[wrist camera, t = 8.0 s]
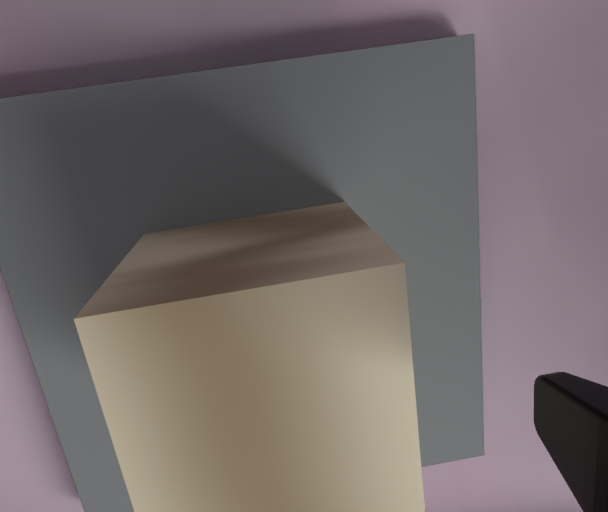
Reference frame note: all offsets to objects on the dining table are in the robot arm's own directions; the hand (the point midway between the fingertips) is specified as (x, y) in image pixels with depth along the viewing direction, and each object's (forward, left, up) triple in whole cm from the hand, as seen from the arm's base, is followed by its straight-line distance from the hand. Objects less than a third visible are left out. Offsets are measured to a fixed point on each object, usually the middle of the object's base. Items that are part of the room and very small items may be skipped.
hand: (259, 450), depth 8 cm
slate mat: (0, 0, -6) cm, 6 cm away
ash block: (0, 0, -6) cm, 6 cm away
